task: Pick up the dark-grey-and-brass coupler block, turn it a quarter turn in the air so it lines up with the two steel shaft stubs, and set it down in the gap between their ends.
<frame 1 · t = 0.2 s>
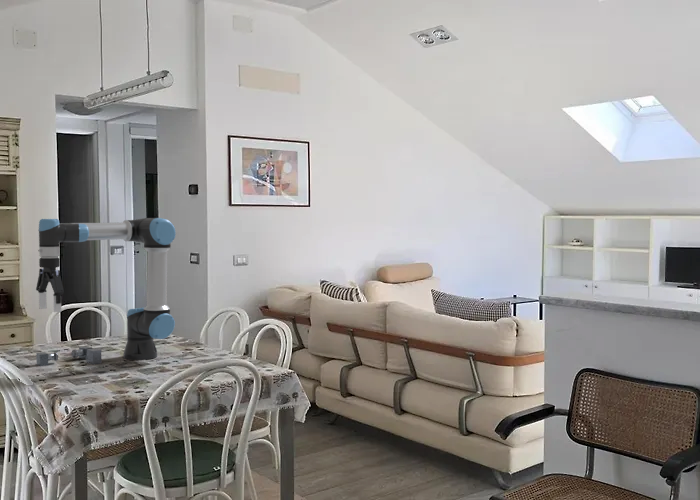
hand: (50, 310, 289), 27 cm above the table, fingers open, 13 cm apart
shaft 2: (80, 359, 328), on the table
shaft 1: (48, 363, 317), on the table
coupler: (94, 363, 320), on the table
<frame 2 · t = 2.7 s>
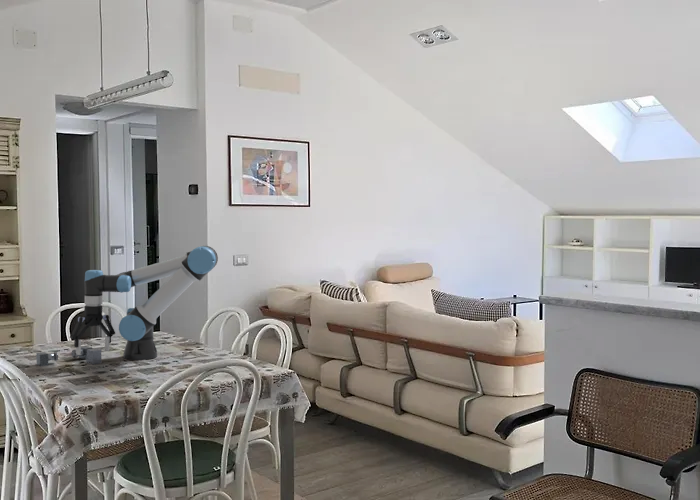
hand: (92, 352, 319), 5 cm above the table, fingers open, 13 cm apart
nothing on the table moved.
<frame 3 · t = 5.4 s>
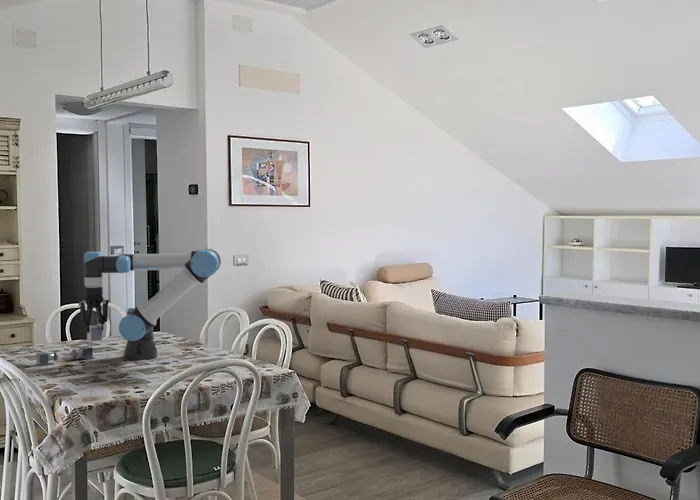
hand: (94, 338, 319), 11 cm above the table, fingers closed on coupler, 4 cm apart
coupler: (94, 339, 319), point 10 cm above the table, touching gripper
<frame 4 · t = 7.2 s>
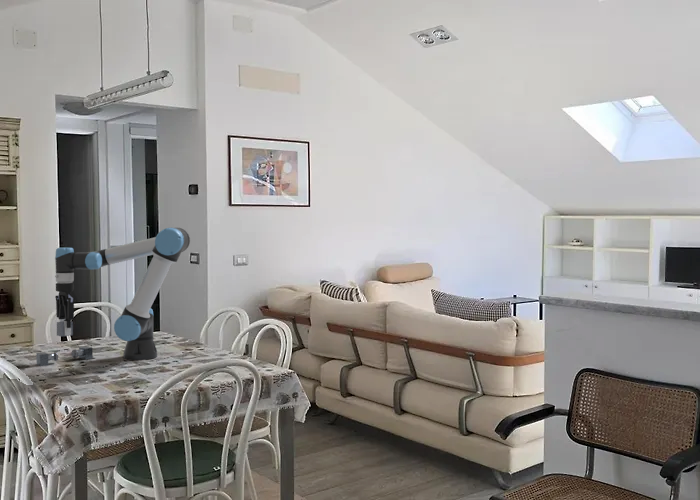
hand: (65, 334, 321), 12 cm above the table, fingers closed on coupler, 4 cm apart
coupler: (64, 335, 321), point 12 cm above the table, touching gripper
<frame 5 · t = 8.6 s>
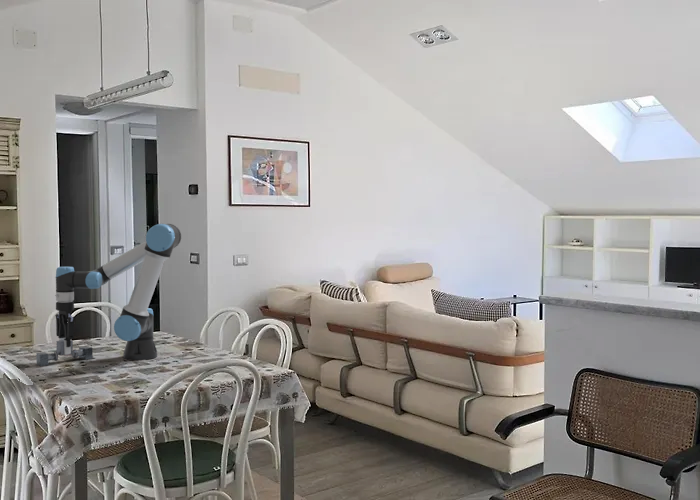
hand: (65, 353, 322), 4 cm above the table, fingers closed on coupler, 4 cm apart
coupler: (64, 354, 322), point 3 cm above the table, touching gripper
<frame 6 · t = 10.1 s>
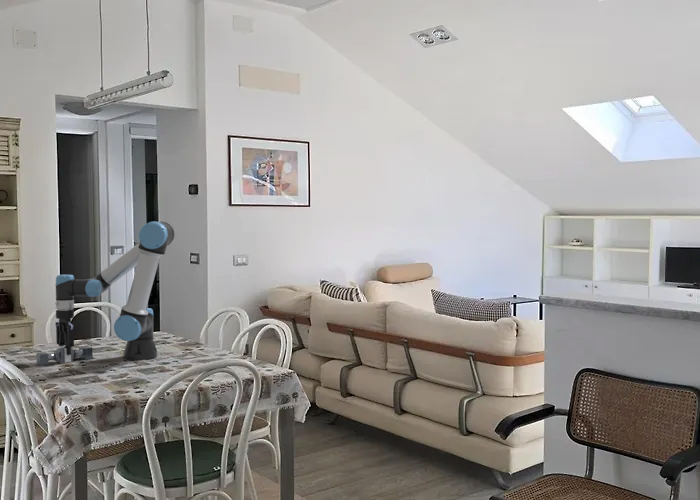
hand: (65, 361, 322), 0 cm above the table, fingers closed on coupler, 4 cm apart
coupler: (64, 361, 322), on the table, touching gripper
when the fingers open (0 cm above the table, at t = 10.1 s): coupler stays where it is, on the table.
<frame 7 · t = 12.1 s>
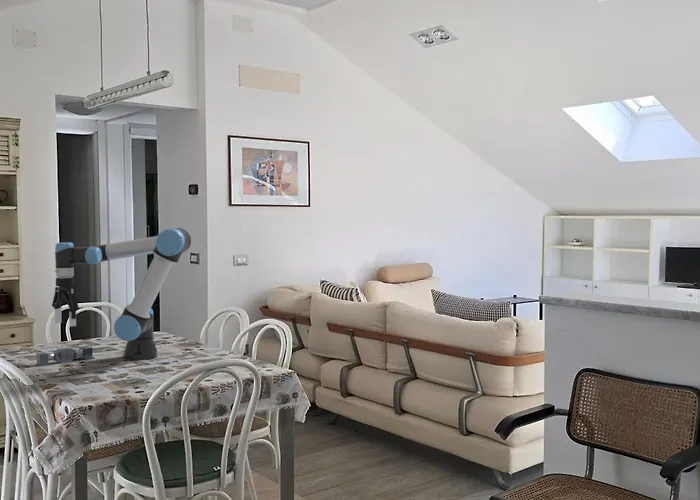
hand: (65, 324, 321), 17 cm above the table, fingers open, 13 cm apart
coupler: (64, 361, 322), on the table
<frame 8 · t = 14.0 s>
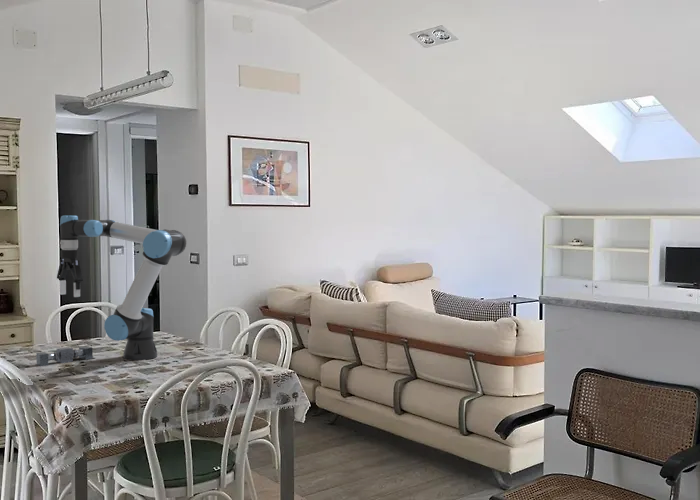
hand: (69, 295, 329), 29 cm above the table, fingers open, 13 cm apart
nothing on the table moved.
at the end: coupler 0.3 cm from the target spot, on the table; coupler tilted 0°; the gripper is holding nothing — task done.
